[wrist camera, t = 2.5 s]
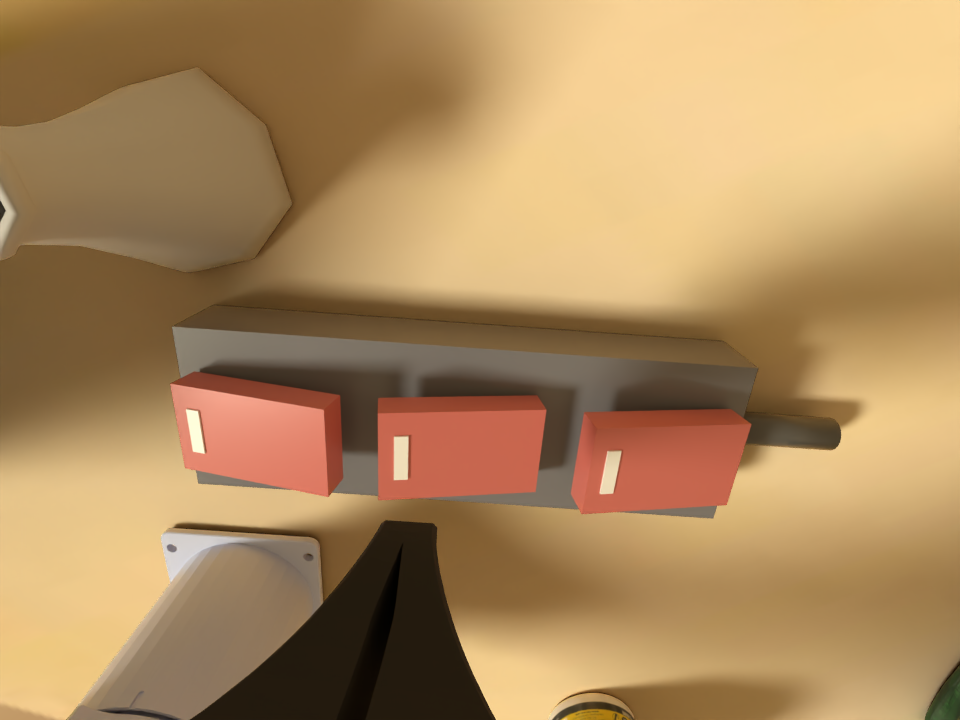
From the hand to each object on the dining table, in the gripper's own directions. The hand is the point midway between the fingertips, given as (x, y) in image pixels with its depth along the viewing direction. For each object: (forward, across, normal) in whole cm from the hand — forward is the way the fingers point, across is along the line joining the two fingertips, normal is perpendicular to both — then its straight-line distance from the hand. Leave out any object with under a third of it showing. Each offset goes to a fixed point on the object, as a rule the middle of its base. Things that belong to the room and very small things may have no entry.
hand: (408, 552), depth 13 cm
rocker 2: (+6, -1, 0) cm, 6 cm away
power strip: (+10, -4, +1) cm, 11 cm away
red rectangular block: (+6, -8, 0) cm, 10 cm away
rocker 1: (+6, +6, 0) cm, 9 cm away
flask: (+11, +10, -8) cm, 17 cm away
